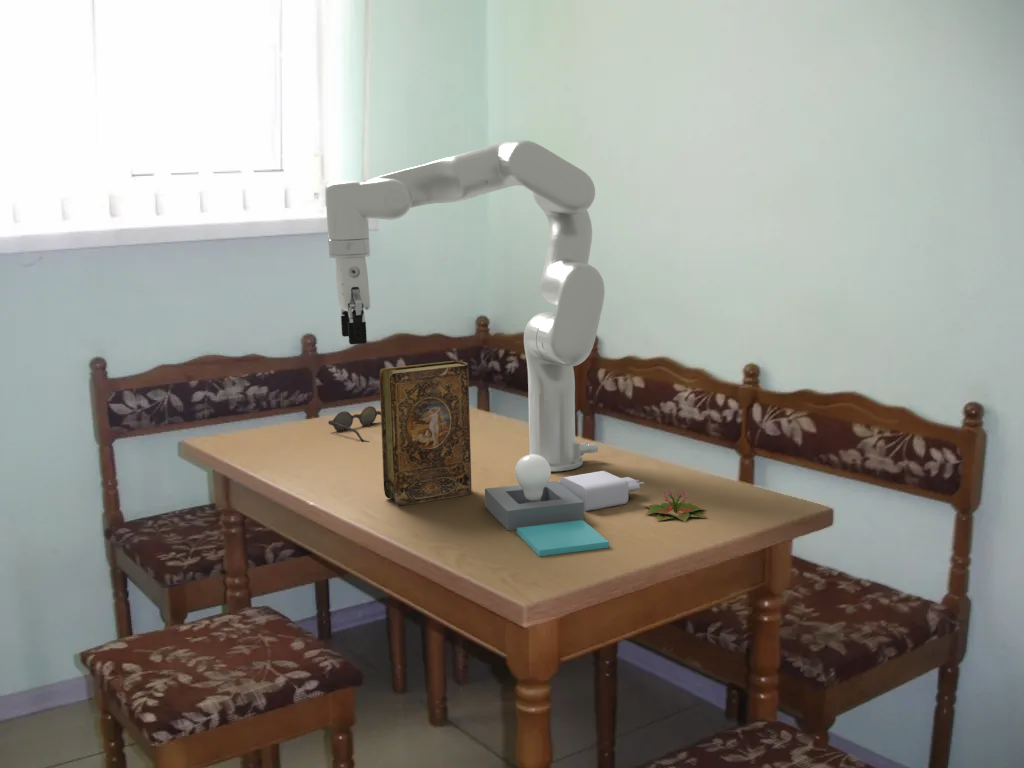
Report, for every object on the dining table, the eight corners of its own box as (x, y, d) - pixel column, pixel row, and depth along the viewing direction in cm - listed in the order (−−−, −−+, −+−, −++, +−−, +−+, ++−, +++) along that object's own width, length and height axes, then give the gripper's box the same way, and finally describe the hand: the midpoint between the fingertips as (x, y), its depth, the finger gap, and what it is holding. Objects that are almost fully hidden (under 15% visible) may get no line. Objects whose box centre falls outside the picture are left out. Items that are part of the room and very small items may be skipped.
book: (463, 486, 221) (459, 360, 216) (475, 493, 216) (472, 364, 211) (384, 499, 213) (378, 369, 209) (394, 507, 209) (389, 373, 204)
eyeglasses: (379, 423, 276) (378, 403, 275) (417, 433, 266) (416, 412, 265) (328, 434, 266) (327, 413, 265) (366, 445, 256) (365, 423, 255)
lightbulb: (530, 506, 207) (529, 448, 205) (558, 512, 203) (557, 453, 201) (508, 515, 203) (507, 455, 200) (536, 521, 199) (535, 461, 196)
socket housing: (557, 498, 212) (557, 480, 211) (584, 521, 198) (583, 502, 198) (485, 507, 208) (484, 488, 207) (507, 530, 194) (507, 510, 194)
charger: (655, 500, 210) (586, 513, 204) (627, 488, 218) (560, 500, 212) (655, 475, 209) (585, 488, 203) (627, 464, 217) (559, 475, 211)
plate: (582, 525, 196) (582, 519, 196) (608, 547, 185) (608, 541, 185) (516, 533, 193) (516, 527, 193) (539, 556, 182) (538, 550, 181)
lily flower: (697, 503, 209) (697, 479, 208) (718, 523, 198) (719, 498, 197) (634, 507, 207) (634, 483, 207) (651, 528, 196) (652, 502, 195)
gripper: (376, 251, 203) (381, 345, 207) (362, 244, 219) (366, 331, 223) (334, 253, 201) (340, 348, 205) (323, 246, 217) (328, 334, 221)
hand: (354, 339), depth 214 cm, fingers open, 9 cm apart
